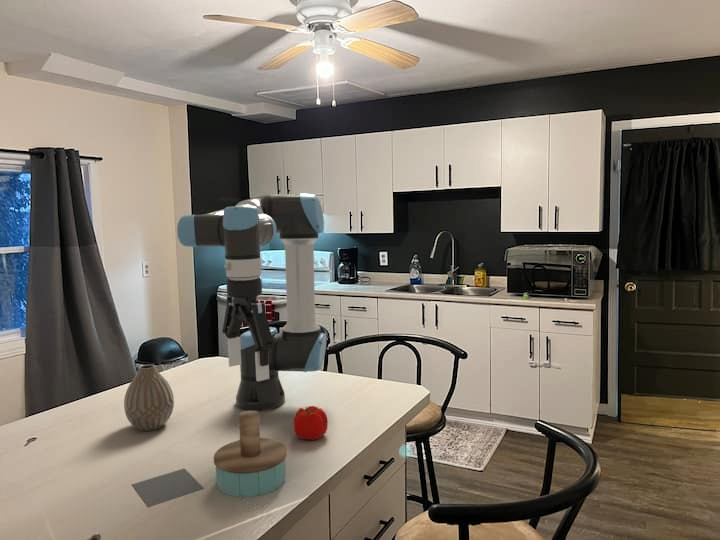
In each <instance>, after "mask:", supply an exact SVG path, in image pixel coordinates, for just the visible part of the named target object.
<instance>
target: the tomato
mask: <svg viewBox="0 0 720 540" xmlns="http://www.w3.org/2000/svg"><path fill="white" fill-rule="evenodd" d="M328 423H329V421H328V416H327V414H326V412H325V411H324V410H323V409H322V408H319V407H318V406H315V405H310V406H305V409H304V408H303V407H302V408H301V407H300V408H298V410H297V411H296V413H295V416H294V418H293V430H294V434H295V436H297V437H298V438H300V439H302V440H309V441H316V440H318V439H320V438H321V437H322V436H324V435H325V434H326V432H327V430H328Z"/></svg>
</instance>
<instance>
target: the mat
mask: <svg viewBox="0 0 720 540" xmlns="http://www.w3.org/2000/svg"><path fill="white" fill-rule="evenodd" d="M131 486H132V488H133V489H134V491H135V492H136V493H137V495H138V496H139V497H140V498H141V500H142V502H143V503H144V505H146V507H147V508H151V507H153V506H156V505H159V504H162V503H165V502H168V501H171V500H174V499H177V498H180V497H183V496H186V495H189V494H192V493H195V492H198V491H201V490H205V488H204V487H203V486H202V485H201V483H199V482H198V480H197V479H195V477H194V476H193V475H191V473H190V472H189V471H188V470H187V469H186V468H180V469H178V470H173V471H171V472H168V473H165V474H161V475H158V476H154V477H151V478H149V479H144V480H141V481H138V482H136V483H132V484H131Z"/></svg>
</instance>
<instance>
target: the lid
mask: <svg viewBox="0 0 720 540" xmlns="http://www.w3.org/2000/svg"><path fill="white" fill-rule="evenodd" d="M238 423H239V425H238V427H239V428H238V429H239V440H235V441H232V442H230V443H227V444H225V445H223V446H221V447H219V448H218V449H217V450H216V452H214V455H213V463H214V465H215V468H216V467H218V468H219V469H221V470H223V471H226V472H230V473H242V474H244V473H255V472H260V471H264V470H267V469H270V468H273V467H275V466H277V465H278V464H280V463H281V462H282V461H283V460H284V459H285V460H286V458H287V455H288V453H287V451H288V449H287V447H286V445H285V444H284V443H282V442H281V441H279V440H277V439H272V438H266V437H261V430H260V429H261V428H260V427H261V426H260V425H261V424H260V413H259V411H251V410H244V411H242V412H240V413H238Z"/></svg>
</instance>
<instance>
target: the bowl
mask: <svg viewBox="0 0 720 540" xmlns="http://www.w3.org/2000/svg"><path fill="white" fill-rule="evenodd" d="M215 474H216V475H215V479H216V486H217V488H218V489H219V490H220V492H222V493H224V494H226V495H228V496H232V497H240V498H249V497H257V496H263V495H265V494H268V493H271V492H274V491H275V490H277V489H278V488H280V487H281V486H282V485H283V484H284V483H285V480H286V477H287V476H286V458H285V459H284V460H283V461H282V462H281V463H280V464H278V465H277V466H275V467H273V468H270V469H267V470H264V471H260V472H255V473H244V474H242V473H230V472H226V471H223V470H221V469H219V468H218V467H216V466H215Z"/></svg>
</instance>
